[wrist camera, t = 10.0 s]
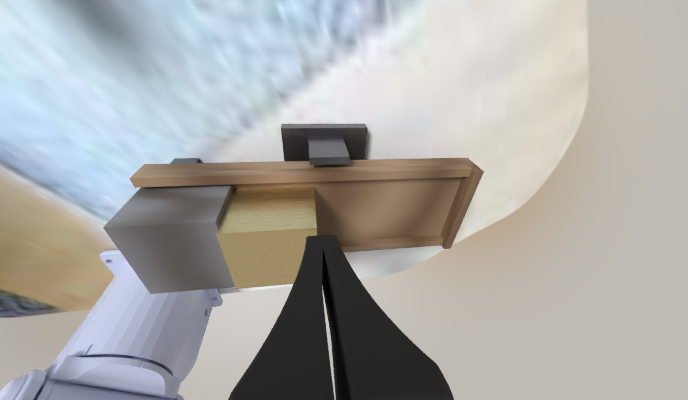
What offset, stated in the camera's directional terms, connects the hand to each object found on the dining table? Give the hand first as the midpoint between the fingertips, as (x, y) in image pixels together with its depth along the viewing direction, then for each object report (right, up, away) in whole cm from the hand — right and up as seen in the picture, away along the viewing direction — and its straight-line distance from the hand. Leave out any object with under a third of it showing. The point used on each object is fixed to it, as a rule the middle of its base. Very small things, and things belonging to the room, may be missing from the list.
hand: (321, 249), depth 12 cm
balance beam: (0, +2, +6) cm, 7 cm away
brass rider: (-3, +1, +5) cm, 6 cm away
